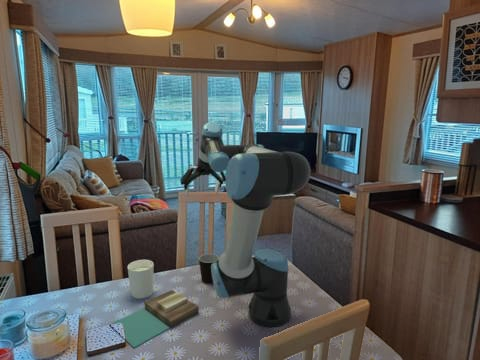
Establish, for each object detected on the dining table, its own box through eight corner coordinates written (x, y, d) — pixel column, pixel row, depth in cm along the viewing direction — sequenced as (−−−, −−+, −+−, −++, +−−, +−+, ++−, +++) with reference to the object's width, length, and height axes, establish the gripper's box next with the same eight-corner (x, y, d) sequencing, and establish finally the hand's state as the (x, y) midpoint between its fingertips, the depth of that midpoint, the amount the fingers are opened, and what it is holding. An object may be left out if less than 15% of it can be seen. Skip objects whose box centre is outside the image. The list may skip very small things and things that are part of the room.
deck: (198, 312, 121) (198, 306, 120) (170, 327, 112) (170, 321, 112) (171, 295, 132) (171, 289, 131) (144, 308, 123) (144, 302, 123)
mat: (169, 328, 112) (169, 327, 112) (134, 348, 103) (134, 347, 103) (143, 309, 123) (143, 308, 123) (109, 325, 113) (109, 324, 113)
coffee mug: (209, 287, 138) (209, 264, 136) (194, 280, 143) (194, 258, 141) (227, 276, 147) (227, 255, 145) (213, 270, 152) (212, 249, 150)
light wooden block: (187, 302, 123) (187, 298, 123) (166, 312, 117) (166, 308, 116) (177, 295, 127) (177, 292, 127) (156, 305, 121) (156, 301, 120)
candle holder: (141, 302, 127) (139, 273, 124) (123, 295, 132) (121, 266, 129) (160, 291, 135) (159, 263, 132) (143, 284, 140) (141, 257, 137)
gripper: (234, 150, 144) (226, 184, 159) (175, 152, 136) (172, 188, 150) (239, 162, 139) (230, 196, 154) (178, 164, 131) (175, 200, 145)
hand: (201, 192), depth 152 cm, fingers open, 13 cm apart
